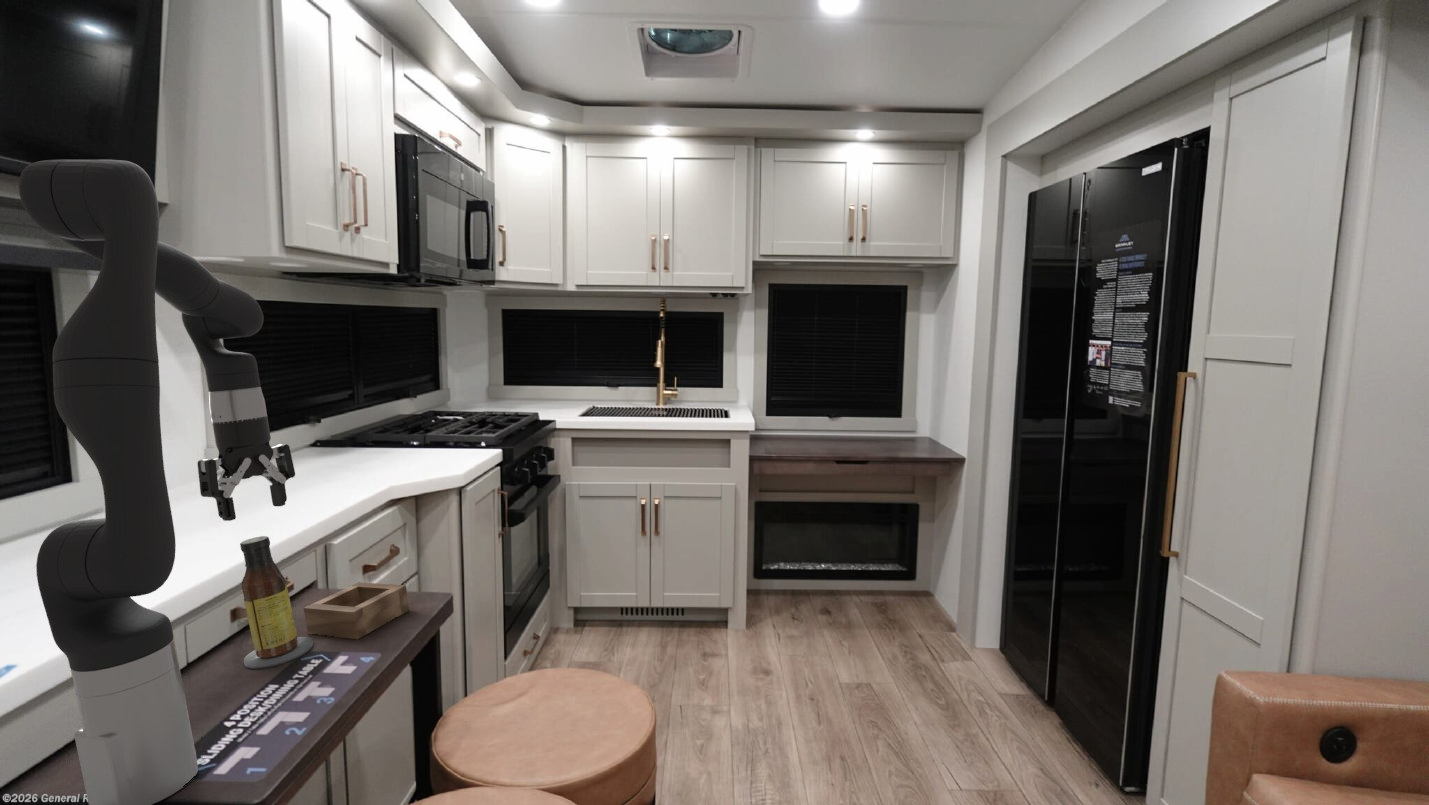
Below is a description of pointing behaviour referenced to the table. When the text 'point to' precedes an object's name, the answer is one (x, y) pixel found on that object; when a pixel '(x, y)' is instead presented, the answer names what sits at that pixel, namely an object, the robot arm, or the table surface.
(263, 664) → the slate coaster
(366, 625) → the walnut holder
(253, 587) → the sauce bottle
